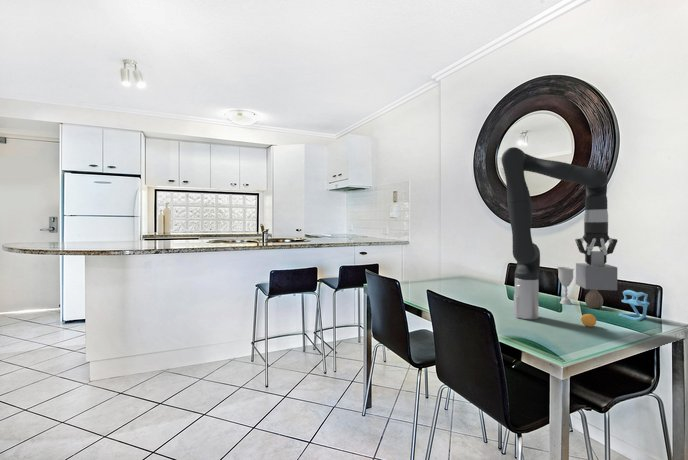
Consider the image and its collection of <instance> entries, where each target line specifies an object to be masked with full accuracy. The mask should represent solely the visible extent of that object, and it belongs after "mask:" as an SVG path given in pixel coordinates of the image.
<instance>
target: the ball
mask: <svg viewBox="0 0 688 460" xmlns="http://www.w3.org/2000/svg"><path fill="white" fill-rule="evenodd" d="M580 321H581V323H582V325H583V326H585V327H592V328H593V327H594V326H595V325H596V324H597V319H596V317H595V316H594V315H593V314H591V313H585V314H584V313H583V315H581V318H580Z"/></svg>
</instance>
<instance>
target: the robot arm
mask: <svg viewBox="0 0 688 460" xmlns="http://www.w3.org/2000/svg"><path fill="white" fill-rule="evenodd" d="M501 164H502V168H503V172H504V177H505V182H506V183H505V185H506V198H507V199H506V201H507V208H508V215H509V221H510V222H509V223H510V227H511V234H512V237H511V238H512V239H511V240H512V255H513V258H514V260H515V261H516V268H515V271H514V293H513V315H514V316H515V318H516V319H524V320H539V316H540V315H539V312H540V311H539V304H540V303H539V275H540V271H541V270H540V269H541V251H540V248H539V246H538V245H537V244H535V243H534V242H533V237H532V231H531V229H532V221H533V205H532V198H531V193H530V190H529V187H528V184H527V182H526V179H525V172H531V173H535V174H540V175H543V176H546V177H550V178H552V179H556V180H559V181H564V182H568V183H576V184H579V185H582V186H585V200H584V217H583V233H584V234H583V236H582V237H581V238H575V239H574V240H575V243H576V246H577V249H578V251H579V253H581V254H584V263H587V264H591V255H590V254H591V251H593V250H594V247H595V248H596V247H598V249H599V251H602V252H604V265H605V264H607V258H608V257H607V256H608V255H610V254H613V253H614V251H615V248H616V245H617V243H618V239H616V238H611V237H610V236H609V213H608V196H607V193H608V192H607V191H608V179H609V178H608V176H609V175H608V173H606V171H603V170H602V169H596V168H591V167H584V166H580V165H577V164H576V165H575V164H573V163H567V162H563V161H558V160H549V159H543V158H539V157H535V156H533V155H531V154H528V153H525V152H524V151H523V150H522V149H520V148H519V147H513V146H512V147H509V148H507V149H505V150H504V152H503V153H502V156H501ZM584 242H585V243H586V246H585V248H584V244H583V243H584ZM607 242H608V243H609V244H608V246H606V244H607Z"/></svg>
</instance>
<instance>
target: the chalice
mask: <svg viewBox="0 0 688 460" xmlns="http://www.w3.org/2000/svg"><path fill="white" fill-rule="evenodd" d="M556 269H557V271H558V272H557V273H558V280H559V282H560V284H561V285H562V286H563V287H564V289H563V295H564V297H563V298H561V300H560V302H559V303H560V304H562V305H572V302H571V299H570V298H568V287H570V285H571V283H572V282H573V279H574V270H575V268H574V267H569V266H568V267H567V266H566V267H565V266H558V267H556Z"/></svg>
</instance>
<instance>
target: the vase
mask: <svg viewBox="0 0 688 460" xmlns="http://www.w3.org/2000/svg"><path fill="white" fill-rule="evenodd" d="M584 301H585V304H586V306H587V307H588V308H590V309H594V308H599V309H600V308H602V306H603V305H604V299H603V295H602V294H601V293H599V291H598V290H593V289H589V292H587V294H585V298H584Z"/></svg>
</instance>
